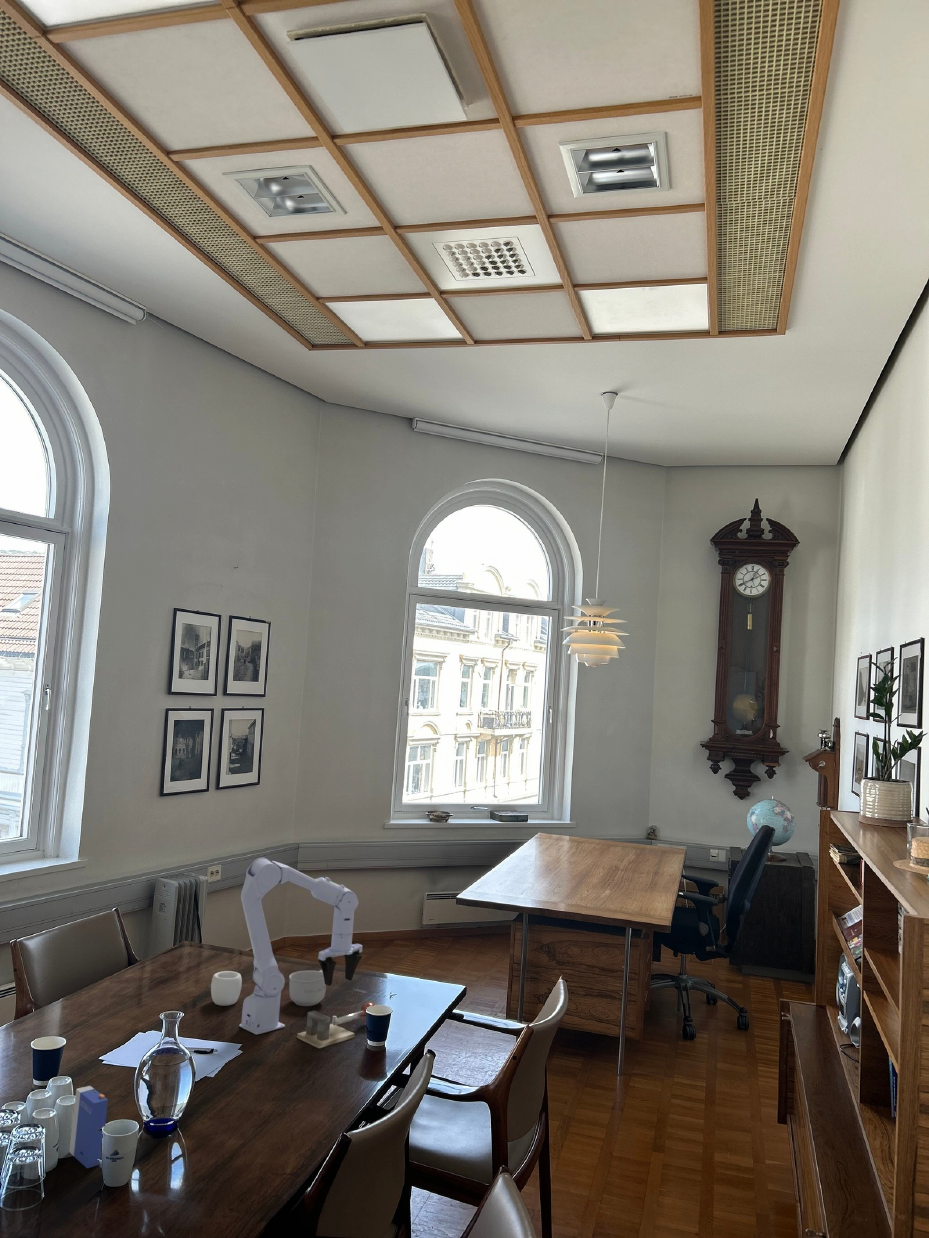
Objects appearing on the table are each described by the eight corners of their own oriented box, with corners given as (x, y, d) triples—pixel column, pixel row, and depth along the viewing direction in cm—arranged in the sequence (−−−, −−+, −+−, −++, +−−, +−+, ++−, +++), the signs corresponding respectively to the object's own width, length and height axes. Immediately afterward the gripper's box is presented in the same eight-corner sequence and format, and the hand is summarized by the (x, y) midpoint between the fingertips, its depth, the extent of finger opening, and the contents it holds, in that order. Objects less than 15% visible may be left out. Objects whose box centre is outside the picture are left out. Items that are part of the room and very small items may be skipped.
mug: (239, 1007, 254) (242, 979, 255) (208, 1008, 252) (211, 979, 253) (240, 993, 266) (242, 966, 266) (210, 993, 264) (213, 966, 264)
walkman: (101, 1163, 168) (108, 1097, 169) (87, 1168, 166) (94, 1101, 167) (83, 1147, 174) (90, 1082, 175) (68, 1151, 172) (75, 1086, 173)
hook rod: (338, 1033, 237) (339, 1015, 237) (326, 1028, 240) (328, 1010, 240) (376, 1022, 247) (378, 1004, 248) (365, 1017, 250) (366, 1000, 251)
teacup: (304, 1012, 254) (307, 983, 255) (279, 1002, 261) (281, 973, 262) (339, 1001, 265) (342, 973, 266) (314, 991, 272) (316, 964, 273)
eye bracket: (319, 1048, 229) (321, 1022, 230) (297, 1037, 235) (299, 1012, 236) (354, 1037, 238) (356, 1012, 239) (332, 1027, 244) (334, 1003, 245)
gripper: (331, 939, 245) (327, 990, 244) (371, 931, 256) (367, 980, 255) (315, 933, 250) (311, 984, 248) (354, 926, 260) (350, 974, 259)
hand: (338, 982), depth 252 cm, fingers open, 7 cm apart
